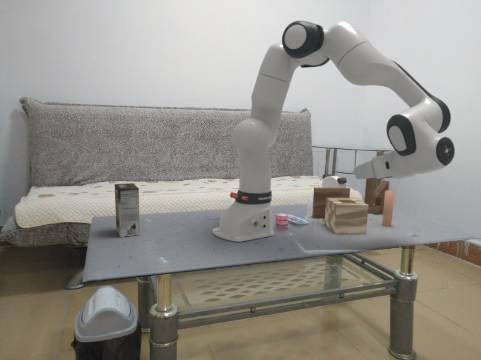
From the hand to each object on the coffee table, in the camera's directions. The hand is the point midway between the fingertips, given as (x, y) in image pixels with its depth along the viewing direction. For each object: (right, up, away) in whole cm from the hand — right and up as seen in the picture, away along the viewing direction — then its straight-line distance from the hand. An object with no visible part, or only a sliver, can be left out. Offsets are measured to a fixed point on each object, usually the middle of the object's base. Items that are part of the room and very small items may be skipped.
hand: (369, 171), depth 119 cm
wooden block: (+16, -17, +39) cm, 45 cm away
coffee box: (-80, -21, +4) cm, 83 cm away
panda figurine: (-1, -16, +45) cm, 48 cm away
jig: (-5, -20, +16) cm, 26 cm away
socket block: (-5, -20, +11) cm, 24 cm away
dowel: (+13, -21, +17) cm, 30 cm away
